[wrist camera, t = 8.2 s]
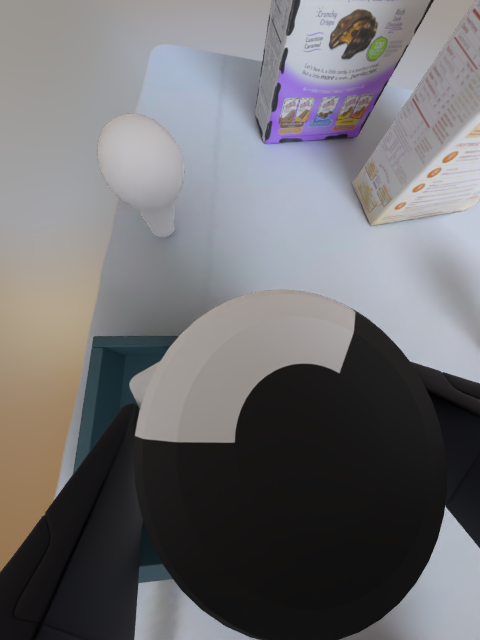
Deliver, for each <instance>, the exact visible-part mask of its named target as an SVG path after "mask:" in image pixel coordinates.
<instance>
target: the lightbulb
mask: <svg viewBox="0 0 480 640" xmlns="http://www.w3.org/2000/svg"><path fill="white" fill-rule="evenodd" d="M97 156H98V163H99V166H100V170H101V173H102V175H103V177H104V179H105V181H106V183H107V184H108V186H109V187H110V188H111V189H112V191H113V192H114V193H115V194H116V195H117V196H118V197H119V198H120V199H122V200H123V201H124V202H126V203H127V204H129V205H130V206H132V207H134V208H136V209H137V210H138V211H139V212H140V214H141V215H142V217H143V219H144V220H145V222H146V223H148V225H149V227H150V229H151V231H152V232H153V233H154V234H155V235H156V236H158V237H168V236H170V235H171V234H172V233H173V232H174V230H175V221H174V216H175V209H174V203H175V200H176V199H177V197H178V195H179V193H180V190H181V188H182V186H183V181H184V173H185V171H184V163H183V158H182V155H181V152H180V150H179V147H178V145H177V143H176V142H175V140H174V138H173V137H172V136H171V134H170V133H169V132H168V131H167V130H166V129H165V128H164V127H163V126H162V125H160V124H159V123H158V122H156V121H155V120H153V119H151V118H149V117H146V116H143V115H139V114H124V115H120V116H118V117H116V118H114V119H113V120H111V121H110V122H108V123H107V124H106V126H105V127H104V129H103V130H102V132H101V135H100V137H99V141H98V146H97Z"/></svg>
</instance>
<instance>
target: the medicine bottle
mask: <svg viewBox="0 0 480 640" xmlns="http://www.w3.org/2000/svg"><path fill="white" fill-rule="evenodd" d="M129 385H130V390H131V392H132V394H133V396H134V398H135V400H136V402H137V404H138V406H139V408H140V411H139V416H138V421H137V427H136V432H135V443H134V474H135V487H136V493H137V497H138V502H139V507H140V511H141V516H142V519H143V521H144V524H145V527H146V530H147V532H148V535H149V538H150V540H151V543H152V545H153V547H154V549H155V550H156V552H157V554H158V556H159V558H160V560H161V562H162V563H163V565H164V567H165V569H166V570H167V571H168V573H169V574H170V575H171V577H172V578H173V579H174V581H175V582H176V583H177V585H178V586H179V587H180V589H181V590H182V591H183V592H184V593H185V594H186V595H187V596H188V597H189V598H190V599H191V600H192V601H193V602H194V603H195V604H196V605H197V606H198V607H200V608H201V609H202V610H203V611H204V612H206V613H207V614H209V615H210V616H212V617H213V618H214V619H216V620H217V621H219V622H220V623H222V624H223V625H225V626H226V627H229V628H231V629H233V630H235V631H238V632H240V633H242V634H244V635H247V636H249V637H251V638H256V639H260V640H339V639H342V638H344V637H347V636H350V635H353V634H355V633H358V632H360V631H362V630H364V629H365V628H367V627H369V626H370V625H372V624H374V623H375V622H377V621H379V620H380V619H382V618H383V617H384V616H385V615H386V614H387V613H389V612H390V611H391V610H392V609H393V608H394V607H395V606H397V605H398V604H399V603H400V602H401V601H402V599H403V598H404V597H405V596H406V595H407V593H408V592H409V591H410V590H411V588H412V587H413V586H414V585H415V584H416V582H417V580H418V579H419V577H420V575H421V574H422V572H423V570H424V568H425V567H426V565H427V563H428V561H429V559H430V557H431V554H432V552H433V549H434V547H435V544H436V542H437V539H438V536H439V532H440V528H441V524H442V520H443V516H444V510H445V502H446V494H447V464H446V455H445V446H444V441H443V436H442V432H441V428H440V423H439V420H438V417H437V414H436V411H435V409H434V406H433V403H432V400H431V398H430V396H429V394H428V392H427V390H426V388H425V386H424V383H423V382H422V380H421V378H420V377H419V375H418V373H417V372H416V370H415V369H414V367H413V365H412V364H411V363H410V361H409V360H408V359H407V357H406V356H405V355H404V354H403V352H402V351H401V350H400V348H399V347H398V346H397V345H396V344H395V343H394V342H393V341H392V340H391V339H390V338H389V337H388V336H387V335H386V334H385V333H384V332H383V331H382V330H381V329H380V328H378V327H377V326H376V325H375V324H373V323H372V322H371V321H370V320H369V319H367V318H366V317H364V316H363V315H361V314H360V313H358V312H356V311H355V310H353V309H352V308H350V307H348V306H346V305H344V304H342V303H339V302H337V301H335V300H333V299H330V298H327V297H324V296H321V295H318V294H313V293H308V292H303V291H295V290H268V291H261V292H255V293H250V294H246V295H243V296H240V297H237V298H234V299H231V300H229V301H227V302H225V303H223V304H221V305H219V306H217V307H215V308H213V309H211V310H210V311H208V312H207V313H205V314H204V315H203V316H201V317H200V318H198V319H197V320H196V321H195V322H193V323H192V324H191V325H190V326H189V327H188V328H187V329H186V330H185V331H183V332H182V333H181V335H180V336H179V337H178V338H177V339H176V340H175V342H174V343H173V344H172V345H171V346H170V348H169V349H168V350H167V352H166V353H165V355H164V356H163V358H162V360H161V361H160V362H158V363H156V364H154V365H153V366H151V367H149V368H147V369H146V370H144V371H142V372H140V373H139V374H137V375H135V376H134V377H133V378H132V379H131V381H130V383H129Z"/></svg>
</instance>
